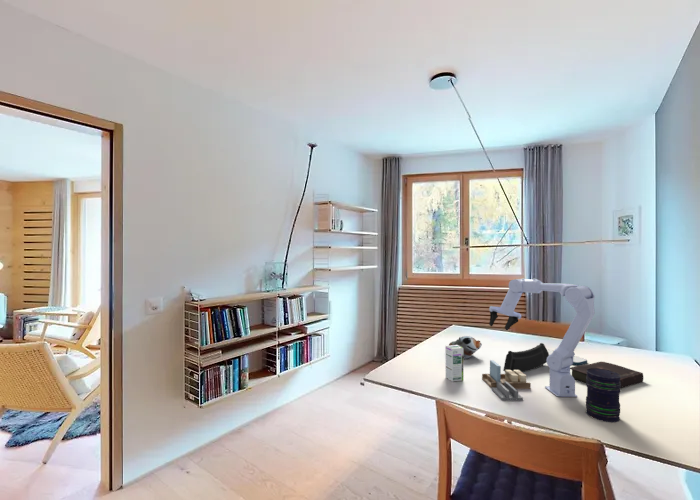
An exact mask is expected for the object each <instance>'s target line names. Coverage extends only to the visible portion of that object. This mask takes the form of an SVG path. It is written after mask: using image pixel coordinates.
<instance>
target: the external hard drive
mask: <svg viewBox="0 0 700 500" xmlns="http://www.w3.org/2000/svg"><path fill="white" fill-rule="evenodd" d="M546 349H547V351H548V353H549V355H551V354H552V353H553V351H554V350H555V349H554V350H553V349H548V348H546ZM587 363H588V360H587V358H584V357H580V356H576V355H574V357H573V364H572V365H571V366H580V365H588V364H587Z"/></svg>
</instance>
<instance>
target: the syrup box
mask: <svg viewBox="0 0 700 500" xmlns="http://www.w3.org/2000/svg"><path fill="white" fill-rule="evenodd" d="M444 355H445V378H446V379H447V378H448V379H447V380H449V381H450V380H451V381H450V382H453V383H454V382H460V381H461V382H462V381H464V358H463V347H461V346H459V345H450V346H448V345H445V353H444Z"/></svg>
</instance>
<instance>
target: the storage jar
mask: <svg viewBox="0 0 700 500" xmlns="http://www.w3.org/2000/svg"><path fill="white" fill-rule="evenodd" d="M585 384H586V397H585V407H586V409H585V410H586V411H585V413H586V414H587V416H589V417H591V418H592V419H595V420H597V421H601V422H606V423H617V422H619V421H621V420H620V419H621V418H620V416H621V403H620V393H621V389H622V388H620V387H621V383H620V375H619V374H618V373H616V372H613V371H610V370H605V369H598V368H590V369H587V377H586V383H585Z"/></svg>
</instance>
